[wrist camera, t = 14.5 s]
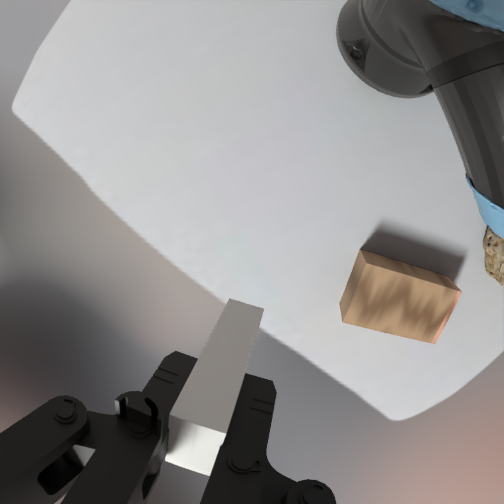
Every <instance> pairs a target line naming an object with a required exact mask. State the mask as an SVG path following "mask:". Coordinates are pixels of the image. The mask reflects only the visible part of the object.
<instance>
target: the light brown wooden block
mask: <svg viewBox="0 0 504 504" xmlns="http://www.w3.org/2000/svg"><path fill="white" fill-rule="evenodd" d="M461 293H462V292H461V291H460V289H459V288H458V287H457V286H456V285H455V284H454V283H453V282H452V281H451V279H450V278H449V277H447V276H444V275H441V274H438V273H435V272H432V271H429V270H426V269H423V268H420V267H416V266H413V265H410V264H407V263H404V262H400V261H397V260H394V259H391V258H388V257H384V256H381V255H378V254H374V253H371V252H368V251H364V250H361V249H360V250H359V253H358V256H357V258H356V261H355V264H354V267H353V270H352V272H351V275H350V278H349V280H348V283H347V285H346V288H345V291H344V293H343V296H342V298H341V301H340V309H341V316H342V322H344V323H348V324H352V325H356V326H360V327H364V328H368V329H372V330H376V331H380V332H384V333H389V334H393V335H397V336H401V337H406V338H410V339H415V340H419V341H424V342H428V343H433V344H435V343H436V341H437V339H438V338H439V336H440V334H441V332H442V330H443V329H444V327H445V325H446V323H447V321H448V319H449V317H450V315H451V313H452V311H453V309H454V307H455V305H456V303H457V301H458V299H459V297H460V295H461Z"/></svg>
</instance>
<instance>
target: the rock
mask: <svg viewBox="0 0 504 504" xmlns="http://www.w3.org/2000/svg"><path fill="white" fill-rule="evenodd" d="M483 247H484V249H485V267H486V271H487V273H488V274H489V275H490V276H491V277H492V278H495V279H496V280H497V281H498V282H499V283H500V285H502V286H504V239H503V238H501V237H500V236H498V235H497V234H495V233H494V232H493V231H492V229H491V228H490V227H488V229H487V233H486V236H485V238H484V239H483Z"/></svg>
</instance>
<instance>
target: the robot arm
mask: <svg viewBox="0 0 504 504" xmlns="http://www.w3.org/2000/svg"><path fill="white" fill-rule="evenodd" d="M336 36H337V43H338V46H339V49H340V52H341V54H342V56H343V58H344V60H345V62H346V63H347V65H348V66H349V67H350V69H351V70H352V71H353V72H354V73H355V74H356V75H357V76H358V77H359V78H360V79H361V80H362V81H364V82H365V83H366V84H368V85H369V86H371V87H372V88H374V89H376V90H378V91H380V92H382V93H384V94H387V95H390V96H394V97H399V98H417V97H421V96H425V95H427V94H430V93H432V92H435V94H436V96H437V98H438V101H439V103H440V105H441V107H442V109H443V112H444V114H445V116H446V119H447V121H448V123H449V126H450V128H451V131H452V133H453V136H454V139H455V141H456V144H457V147H458V149H459V152H460V155H461V158H462V161H463V164H464V167H465V170H466V179H467V182H468V184H469V186H470V188H471V189H472V190H473V193H474V196H475V199H476V202H477V205H478V208H479V212H480V214H481V217H482V218H483V220H484V222H485V223H486V224H487V225H488V226H489V227H490V228H491V229H492V231H493V232H494V233H495V234H497V235H498V236H500V237H501V238H503V239H504V0H348V1H347V2H346V3H345V5H344V6H343V8H342V10H341V12H340V14H339V18H338V22H337V28H336ZM263 311H264V309H263V308H259V307H256V306H253V305H249V304H246V303H243V302H239V301H236V300H233V299H229V300H228V302H227V304H226V306H225V308H224V311H223V312H222V314H221V316H220V318H219V320H218V322H217V324H216V326H215V327H214V329H213V331H212V333H211V335H210V337H209V339H208V341H207V343H206V345H205V347H204V349H203V351H202V353H201V355H200V357H199V358H198V359H197V358H194V357H191V356H189V355H186V354H183V353H180V352H177V351H175V352H173V353H171V354H170V355H168V356H166V357H165V358H164V359H163V361H162V362H161V364H160V365H159V367H158V369H157V370H156V371H155V373H154V374H153V377H151V379H150V380H149V382H148V383H147V385H146V387H145V388H144V389H143V391H142V392H140V391H130V392H126V393H124V394H121V395H120V396H119V397H117V398H116V399H115V406H116V415H108V414H101V413H96V412H91V411H87V410H86V407H85V406H84V405H83V403H82V402H81V401H79V400H78V399H76V398H74V397H70V396H57V397H55V398H53V399H51V400H49V401H48V402H46V403H45V404H43V405H42V406H40V407H39V408H37V409H36V410H34V411H33V412H31V413H30V414H29V415H27V416H25V417H24V418H22V419H21V420H19V421H18V422H16V423H15V424H13V425H12V426H10V427H9V428H8V429H6V430H4V431H3V432H1V433H0V504H54V503H55V502H57V501H58V500H59V499H60V498H61V497H63V495H65V494H66V493H67V492H68V493H67V494H66V496H65V497H64V499H63V501H62V502H61V504H146V503H147V500H148V498H149V496H150V494H151V492H152V490H153V488H154V486H155V483H156V481H157V479H158V477H159V475H160V468H161V465H162V463H163V461H164V459H165V456H166V459H165V461H168V462H170V463H173V464H176V465H178V466H181V467H184V468H187V469H190V470H193V471H196V472H199V473H202V474H205V475H208V476H209V479H208V482H207V485H206V488H205V491H204V494H203V496H202V499H201V502H200V504H336V500H335V497H334V494H333V493H332V490H331V489H330V488H329V487H327V485H325V484H324V483H322V482H319V481H317V480H309V479H307V480H302V481H299V482H296V481H294V480H292V479H290V478H288V477H286V476H284V475H282V474H280V473H279V472H277V471H276V470H275V469H274V468H273V467H272V466H271V465H270V463H269V461H268V459H267V455H266V449H267V443H268V438H269V432H270V427H271V422H272V415H273V410H274V404H275V399H276V393H277V392H276V389H275V386H274V384H273V381H271V380H268V379H264V378H261V377H257V376H254V375H250V374H247V373H245V372H246V369H247V365H248V362H249V358H250V355H251V352H252V349H253V345H254V342H255V338H256V335H257V331H258V328H259V325H260V321H261V318H262V314H263Z"/></svg>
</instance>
